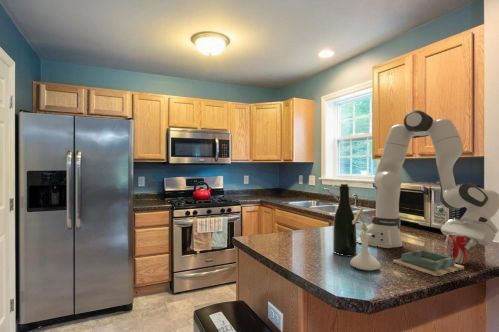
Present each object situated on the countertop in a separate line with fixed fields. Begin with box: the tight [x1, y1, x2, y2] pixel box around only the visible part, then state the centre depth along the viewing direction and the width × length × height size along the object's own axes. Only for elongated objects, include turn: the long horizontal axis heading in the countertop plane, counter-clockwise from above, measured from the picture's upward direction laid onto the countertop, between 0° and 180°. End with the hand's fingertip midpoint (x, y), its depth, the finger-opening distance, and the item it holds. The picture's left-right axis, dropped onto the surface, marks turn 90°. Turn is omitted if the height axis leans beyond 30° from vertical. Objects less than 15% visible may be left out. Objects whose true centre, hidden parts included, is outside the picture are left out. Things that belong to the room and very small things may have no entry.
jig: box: [392, 249, 465, 276], centre depth 117 cm, size 18×18×4 cm
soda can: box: [446, 233, 469, 265], centre depth 122 cm, size 7×7×12 cm
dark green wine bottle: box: [332, 183, 358, 256], centre depth 136 cm, size 10×10×33 cm
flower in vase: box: [350, 206, 381, 271], centre depth 115 cm, size 13×11×25 cm
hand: (456, 245), depth 122 cm, fingers closed on soda can, 7 cm apart
